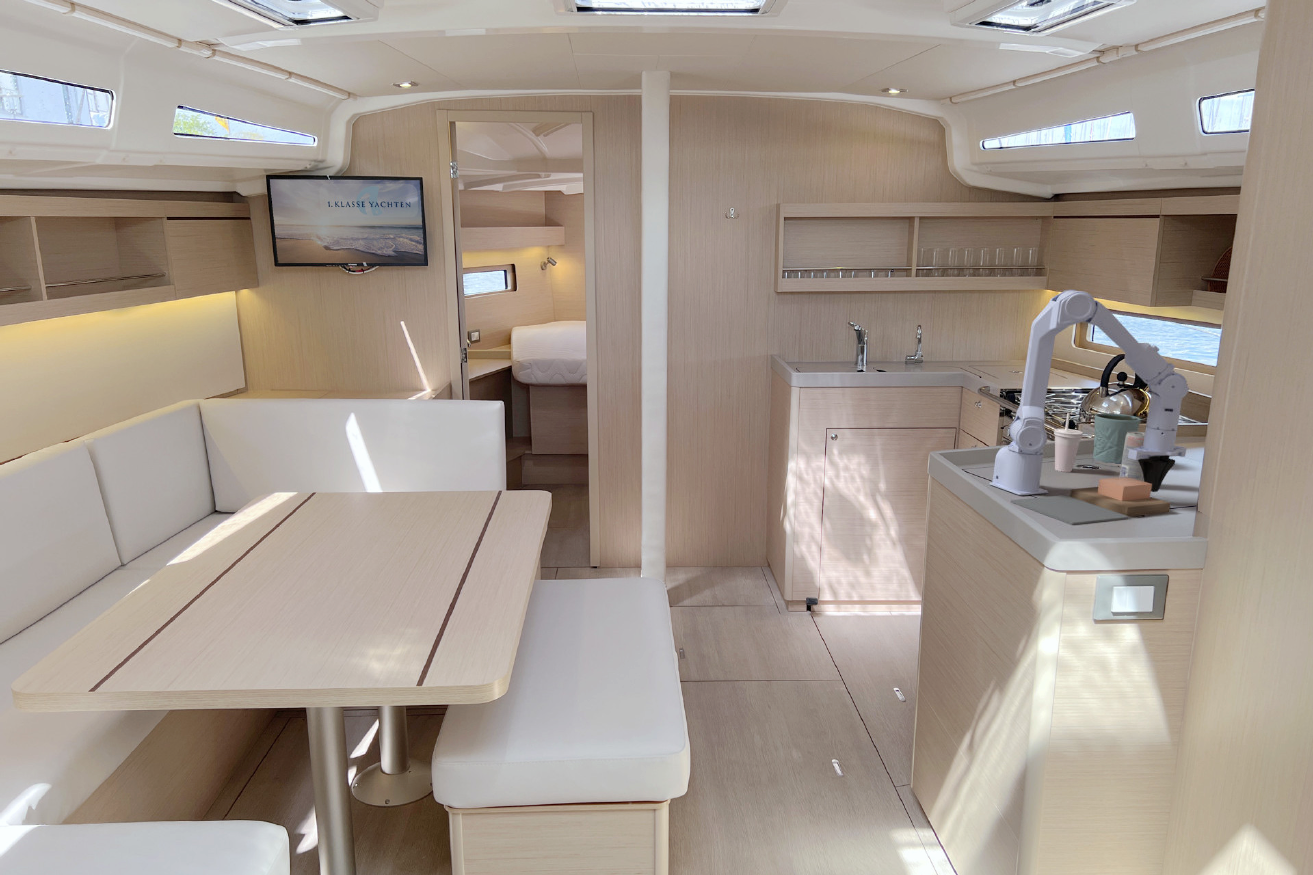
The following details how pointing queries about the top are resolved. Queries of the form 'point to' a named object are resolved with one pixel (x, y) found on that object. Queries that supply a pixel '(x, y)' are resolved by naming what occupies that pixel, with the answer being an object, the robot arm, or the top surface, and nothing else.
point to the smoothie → (1066, 447)
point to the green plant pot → (1112, 436)
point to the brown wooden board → (1121, 503)
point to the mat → (1069, 509)
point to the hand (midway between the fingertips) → (1151, 490)
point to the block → (1124, 488)
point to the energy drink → (1132, 466)
